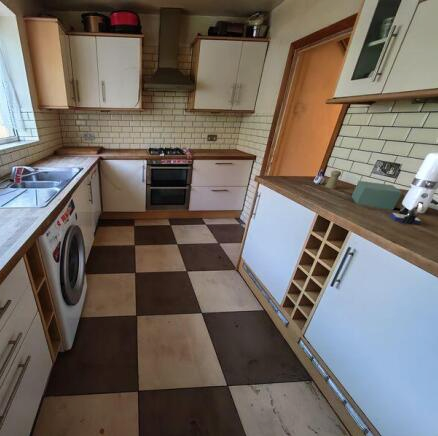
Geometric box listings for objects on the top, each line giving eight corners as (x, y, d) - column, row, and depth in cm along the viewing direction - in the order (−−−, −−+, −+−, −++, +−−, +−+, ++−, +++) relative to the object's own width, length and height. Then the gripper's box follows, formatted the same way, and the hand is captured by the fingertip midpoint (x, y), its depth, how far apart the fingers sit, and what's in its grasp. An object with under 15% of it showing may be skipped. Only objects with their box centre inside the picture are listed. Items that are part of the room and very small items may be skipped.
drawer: (424, 206, 120) (432, 192, 116) (436, 215, 109) (446, 200, 106) (379, 199, 128) (386, 186, 124) (387, 207, 117) (394, 192, 114)
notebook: (412, 223, 103) (416, 216, 101) (417, 227, 98) (421, 221, 97) (388, 218, 106) (392, 212, 105) (392, 223, 102) (396, 216, 100)
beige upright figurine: (337, 189, 147) (344, 172, 142) (326, 187, 149) (332, 171, 144) (334, 186, 152) (341, 170, 147) (324, 185, 154) (330, 169, 149)
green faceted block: (384, 201, 128) (392, 185, 123) (392, 210, 116) (402, 192, 112) (351, 196, 134) (358, 180, 130) (356, 204, 123) (364, 187, 119)
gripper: (449, 191, 86) (422, 232, 94) (428, 180, 99) (407, 217, 107) (421, 187, 89) (398, 227, 97) (405, 177, 103) (385, 214, 110)
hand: (403, 222), depth 102 cm, fingers closed on notebook, 5 cm apart
